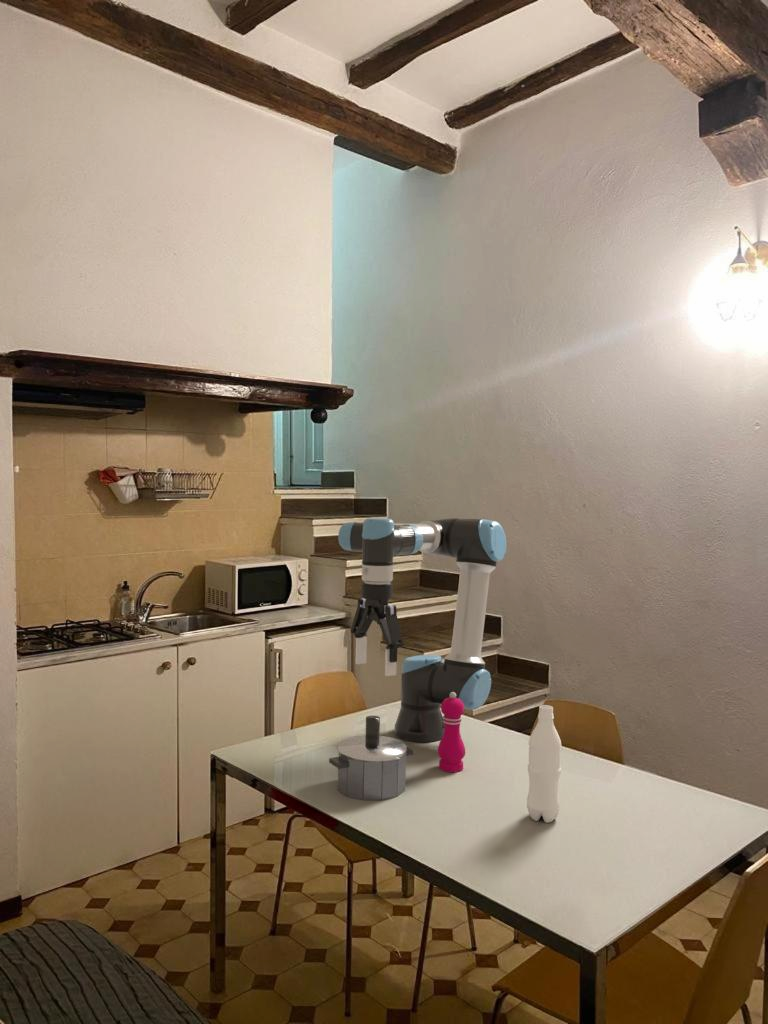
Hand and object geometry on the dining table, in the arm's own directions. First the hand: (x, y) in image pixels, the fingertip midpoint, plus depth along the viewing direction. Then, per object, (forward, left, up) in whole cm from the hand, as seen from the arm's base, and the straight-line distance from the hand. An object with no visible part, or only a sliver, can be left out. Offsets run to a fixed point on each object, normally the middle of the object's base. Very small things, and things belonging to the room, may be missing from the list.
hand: (375, 669), depth 192 cm
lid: (+1, 0, -21) cm, 21 cm away
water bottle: (-23, +34, -29) cm, 51 cm away
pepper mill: (-24, -1, -29) cm, 38 cm away
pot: (+1, 0, -29) cm, 29 cm away
